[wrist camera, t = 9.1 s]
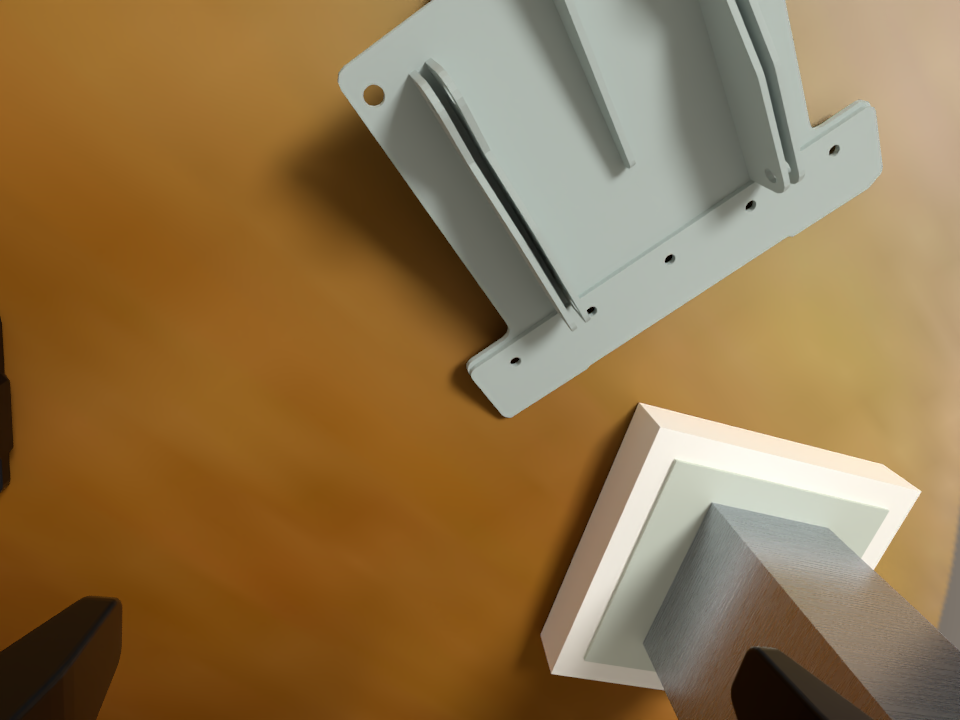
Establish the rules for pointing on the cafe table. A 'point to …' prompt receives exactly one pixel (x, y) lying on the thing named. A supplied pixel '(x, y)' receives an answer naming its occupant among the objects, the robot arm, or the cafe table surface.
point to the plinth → (697, 527)
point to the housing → (795, 622)
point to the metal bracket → (603, 160)
